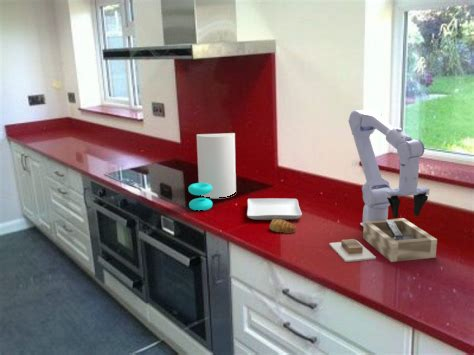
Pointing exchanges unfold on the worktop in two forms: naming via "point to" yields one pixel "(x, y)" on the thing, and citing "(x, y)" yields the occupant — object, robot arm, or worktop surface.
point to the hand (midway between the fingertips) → (405, 216)
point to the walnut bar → (351, 246)
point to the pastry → (282, 226)
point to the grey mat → (352, 257)
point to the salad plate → (273, 209)
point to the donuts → (200, 202)
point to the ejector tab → (397, 232)
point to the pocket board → (401, 249)
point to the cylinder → (217, 163)
